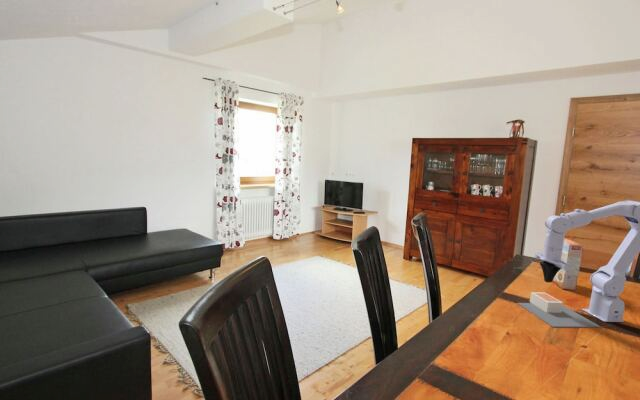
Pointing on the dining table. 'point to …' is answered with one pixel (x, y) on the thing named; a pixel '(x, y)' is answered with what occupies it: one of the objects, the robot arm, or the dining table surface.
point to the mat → (559, 317)
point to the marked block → (546, 302)
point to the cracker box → (572, 258)
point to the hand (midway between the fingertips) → (548, 281)
